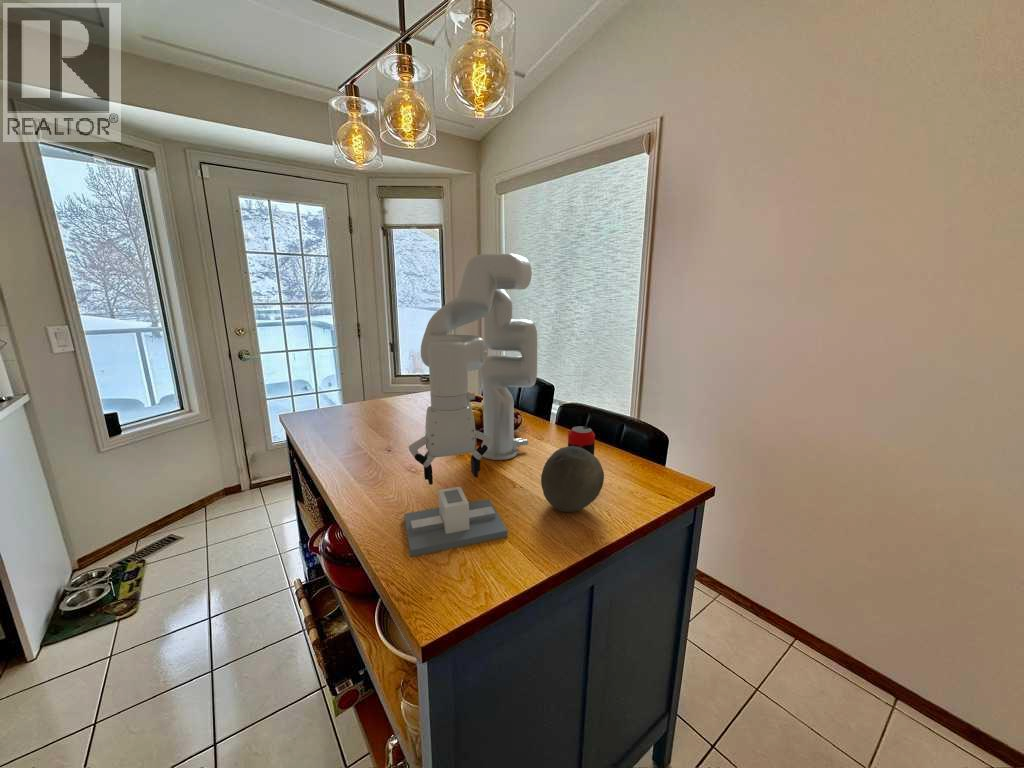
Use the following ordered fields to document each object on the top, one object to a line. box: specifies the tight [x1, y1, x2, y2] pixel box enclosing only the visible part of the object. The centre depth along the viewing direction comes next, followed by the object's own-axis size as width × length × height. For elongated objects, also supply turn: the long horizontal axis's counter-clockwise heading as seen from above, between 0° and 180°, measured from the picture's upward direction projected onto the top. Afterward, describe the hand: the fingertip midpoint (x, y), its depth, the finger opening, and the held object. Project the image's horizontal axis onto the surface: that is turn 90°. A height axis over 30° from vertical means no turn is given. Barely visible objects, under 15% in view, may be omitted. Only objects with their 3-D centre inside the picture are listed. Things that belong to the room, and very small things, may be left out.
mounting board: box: [403, 498, 509, 558], centre depth 88 cm, size 20×14×2 cm
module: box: [437, 486, 469, 534], centre depth 87 cm, size 5×8×6 cm, turn 20°
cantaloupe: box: [540, 445, 605, 513], centre depth 94 cm, size 14×14×15 cm
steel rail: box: [411, 506, 495, 533], centre depth 87 cm, size 18×3×1 cm, turn 109°
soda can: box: [567, 425, 596, 456], centre depth 116 cm, size 8×8×12 cm
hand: (452, 478), depth 85 cm, fingers open, 9 cm apart
